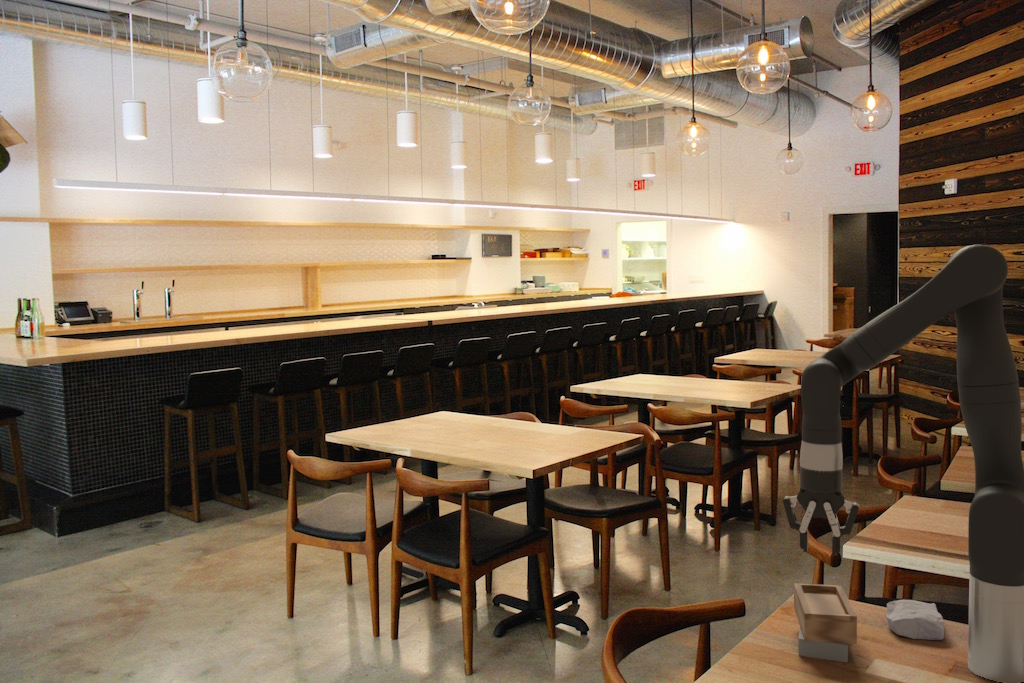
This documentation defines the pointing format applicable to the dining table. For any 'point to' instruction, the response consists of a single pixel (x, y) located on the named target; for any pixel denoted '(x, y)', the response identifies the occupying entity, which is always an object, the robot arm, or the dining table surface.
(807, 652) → the base slab
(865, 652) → the dining table surface
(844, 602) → the tan open box
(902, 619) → the stone block
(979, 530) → the robot arm
